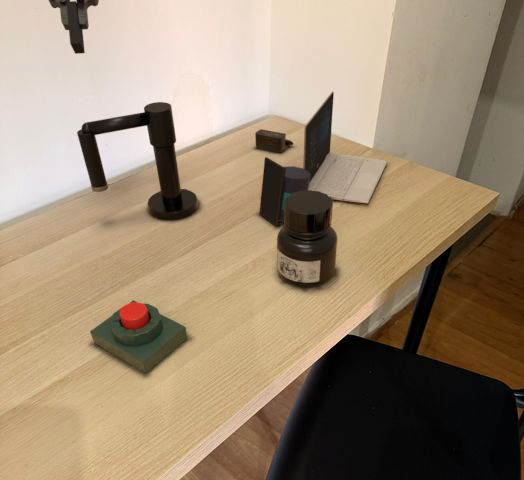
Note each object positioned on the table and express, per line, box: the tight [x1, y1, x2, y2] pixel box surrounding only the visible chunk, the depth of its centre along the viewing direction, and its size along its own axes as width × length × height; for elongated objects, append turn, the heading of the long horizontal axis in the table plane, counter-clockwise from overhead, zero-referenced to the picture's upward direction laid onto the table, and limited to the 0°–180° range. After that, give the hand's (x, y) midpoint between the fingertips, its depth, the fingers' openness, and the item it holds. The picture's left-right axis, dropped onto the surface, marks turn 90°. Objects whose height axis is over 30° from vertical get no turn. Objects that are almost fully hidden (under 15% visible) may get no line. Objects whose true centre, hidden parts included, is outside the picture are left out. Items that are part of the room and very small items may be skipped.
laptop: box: [302, 90, 388, 204], centre depth 99 cm, size 18×12×13 cm
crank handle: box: [76, 101, 177, 193], centre depth 88 cm, size 16×4×11 cm, turn 113°
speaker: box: [258, 156, 311, 228], centre depth 91 cm, size 8×6×10 cm
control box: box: [89, 299, 188, 374], centre depth 71 cm, size 10×8×4 cm
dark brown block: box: [254, 128, 294, 154], centre depth 114 cm, size 5×7×3 cm, turn 62°
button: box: [119, 301, 149, 330], centre depth 69 cm, size 4×4×2 cm
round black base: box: [147, 144, 199, 221], centre depth 94 cm, size 9×9×12 cm
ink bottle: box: [276, 190, 338, 288], centre depth 79 cm, size 10×9×12 cm
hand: (77, 48), depth 83 cm, fingers closed
